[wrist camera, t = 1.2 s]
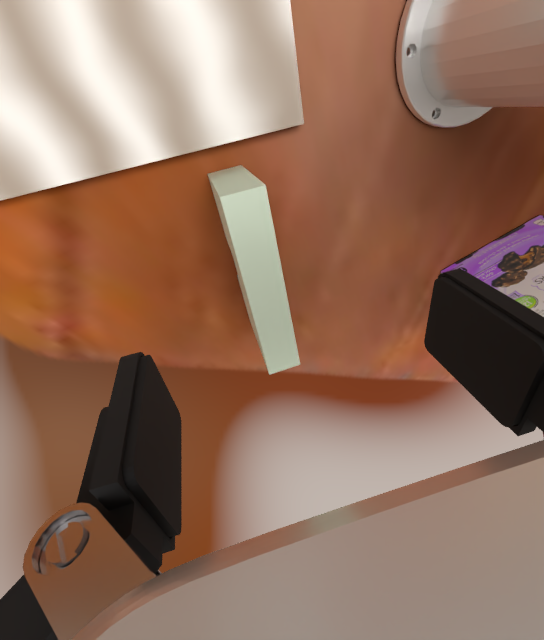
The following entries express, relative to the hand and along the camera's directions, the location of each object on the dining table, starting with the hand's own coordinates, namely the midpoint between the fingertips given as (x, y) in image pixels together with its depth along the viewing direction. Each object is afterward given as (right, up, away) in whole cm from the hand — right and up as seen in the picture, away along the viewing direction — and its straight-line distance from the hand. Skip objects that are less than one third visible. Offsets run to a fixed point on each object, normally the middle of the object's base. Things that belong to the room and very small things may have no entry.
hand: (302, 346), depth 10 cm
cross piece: (-4, +7, +22) cm, 23 cm away
